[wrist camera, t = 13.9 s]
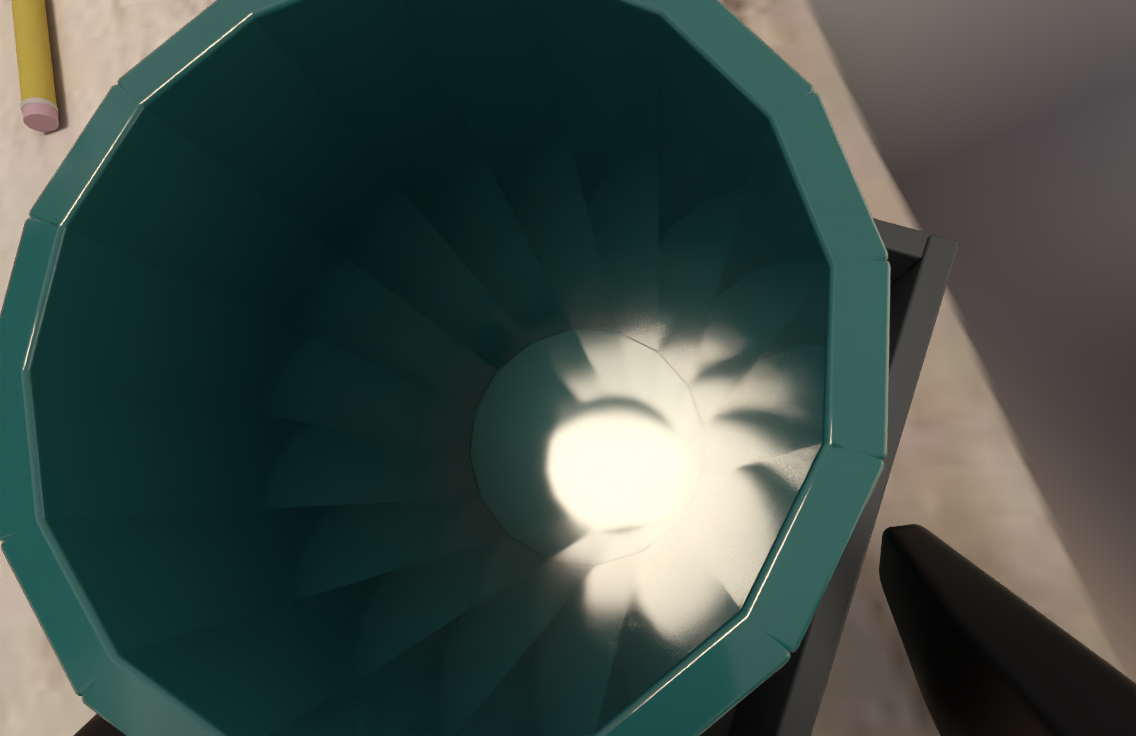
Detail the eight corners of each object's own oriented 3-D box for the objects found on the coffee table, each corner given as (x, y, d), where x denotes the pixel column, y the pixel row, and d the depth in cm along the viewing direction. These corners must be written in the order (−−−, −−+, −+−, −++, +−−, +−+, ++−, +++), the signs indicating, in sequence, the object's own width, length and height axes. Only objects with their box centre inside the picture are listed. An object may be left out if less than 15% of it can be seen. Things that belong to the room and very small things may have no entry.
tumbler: (752, 534, 16) (1079, 682, 4) (501, 606, 17) (30, 957, 4) (668, 291, 18) (695, -196, 5) (440, 365, 18) (-45, 86, 6)
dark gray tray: (883, 304, 18) (961, 240, 13) (736, 775, 16) (766, 887, 11) (465, 180, 20) (410, 90, 16) (300, 576, 18) (184, 604, 14)
